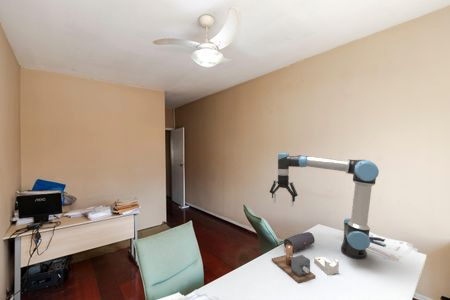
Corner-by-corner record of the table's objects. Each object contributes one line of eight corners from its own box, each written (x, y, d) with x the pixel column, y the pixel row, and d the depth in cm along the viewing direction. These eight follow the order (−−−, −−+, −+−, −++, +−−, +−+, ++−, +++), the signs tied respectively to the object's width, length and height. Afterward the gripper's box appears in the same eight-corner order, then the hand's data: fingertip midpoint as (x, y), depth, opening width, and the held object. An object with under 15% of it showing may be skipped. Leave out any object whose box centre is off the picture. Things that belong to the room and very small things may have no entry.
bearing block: (291, 271, 119) (291, 257, 119) (302, 268, 122) (302, 254, 122) (298, 277, 114) (299, 263, 113) (310, 274, 117) (310, 259, 117)
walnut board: (271, 260, 133) (271, 258, 133) (286, 257, 138) (286, 254, 138) (298, 283, 111) (298, 280, 111) (315, 277, 116) (315, 275, 116)
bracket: (338, 274, 119) (338, 261, 119) (327, 275, 118) (327, 262, 118) (324, 262, 132) (324, 250, 132) (314, 263, 131) (314, 251, 131)
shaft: (283, 262, 127) (283, 245, 127) (290, 260, 129) (290, 244, 129) (304, 278, 112) (304, 259, 112) (311, 276, 114) (311, 257, 114)
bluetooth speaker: (293, 255, 140) (293, 240, 139) (283, 249, 148) (283, 235, 147) (315, 247, 151) (315, 233, 151) (304, 242, 159) (304, 229, 159)
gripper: (302, 175, 143) (302, 206, 144) (269, 172, 159) (269, 200, 160) (298, 176, 138) (298, 208, 138) (265, 173, 154) (264, 202, 154)
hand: (283, 204), depth 149 cm, fingers open, 13 cm apart
